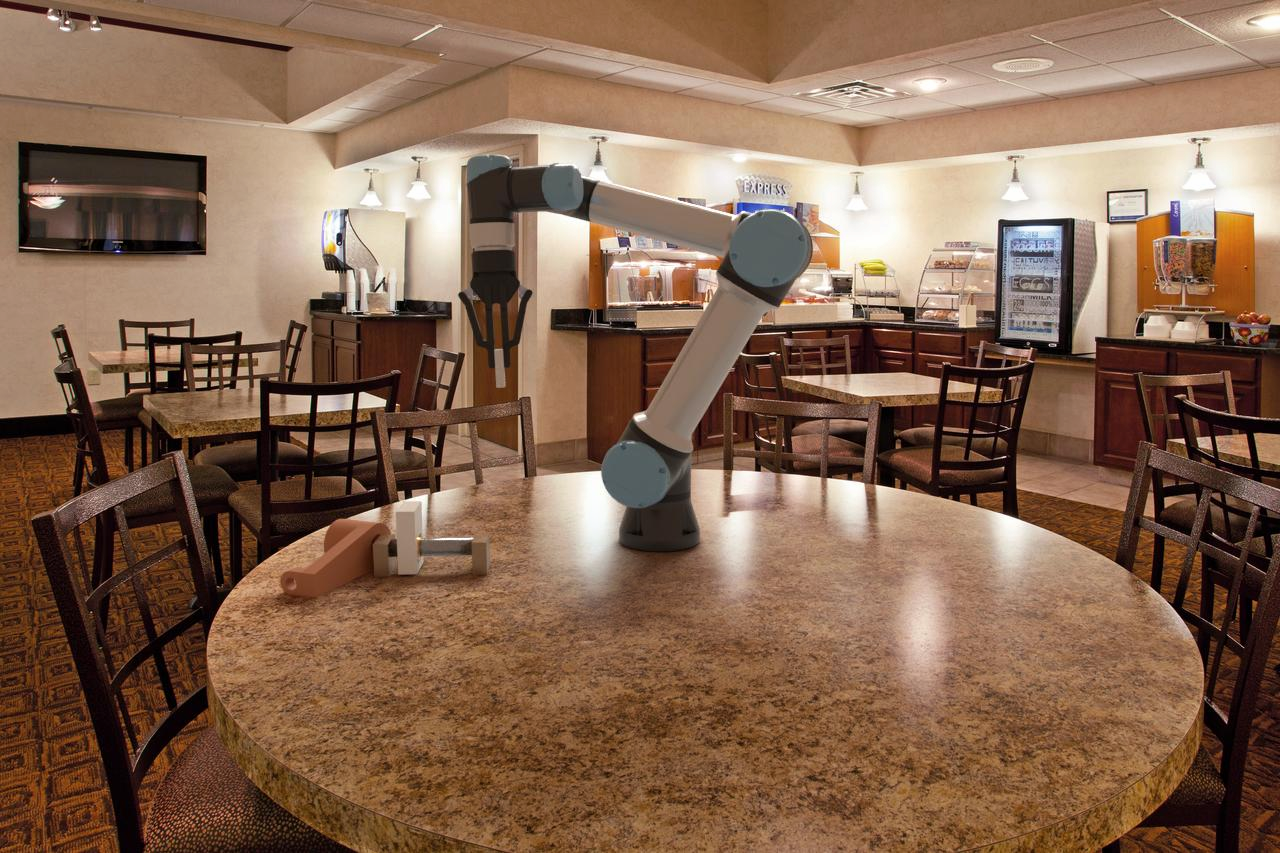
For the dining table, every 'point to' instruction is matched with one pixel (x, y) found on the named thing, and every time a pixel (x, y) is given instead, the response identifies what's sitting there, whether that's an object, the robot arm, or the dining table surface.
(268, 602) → the dining table surface
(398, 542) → the sleeve
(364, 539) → the crank
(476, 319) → the robot arm
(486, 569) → the pipe rig
